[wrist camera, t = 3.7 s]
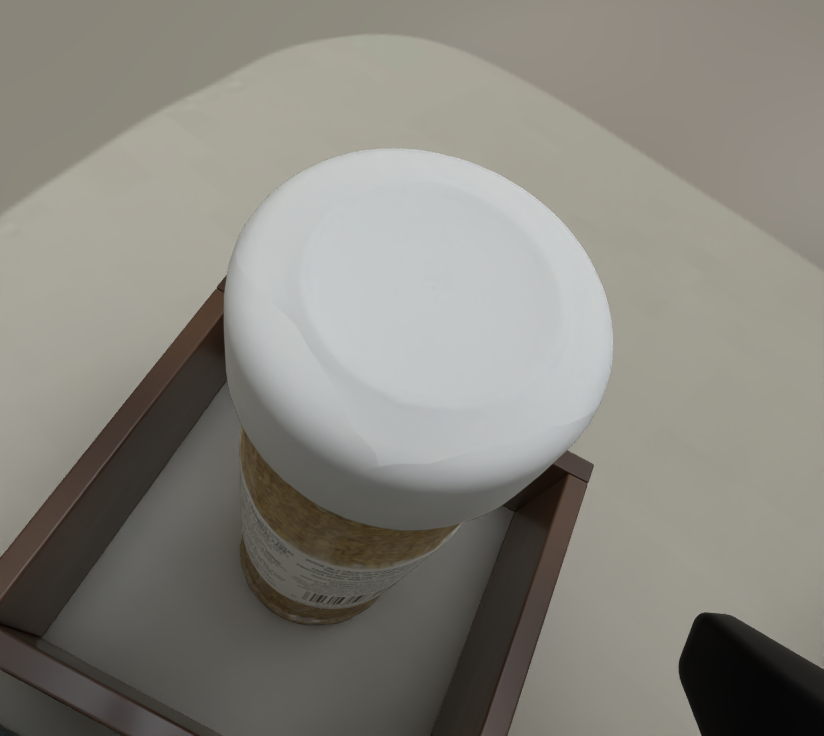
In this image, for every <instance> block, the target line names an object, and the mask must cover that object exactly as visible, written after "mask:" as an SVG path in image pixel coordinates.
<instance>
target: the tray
mask: <svg viewBox="0 0 824 736" xmlns="http://www.w3.org/2000/svg"><path fill="white" fill-rule="evenodd" d="M0 736H19V735H17V734H16V733H14V732H12V731H10V730H8V729H6V728H5V727H3V726H1V725H0Z"/></svg>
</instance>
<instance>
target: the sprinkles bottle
mask: <svg viewBox="0 0 824 736" xmlns="http://www.w3.org/2000/svg"><path fill="white" fill-rule="evenodd" d="M224 344H225V361H226V374H227V382H228V388H229V391H230V395H231V398H232V401H233V404H234V407H235V409H236V412H237V414H238V417H239V419H240V422H241V432H240V444H239V452H240V479H241V528H242V539H241V544H240V557H241V564H242V568H243V570H244V573H245V576H246V579H247V582H248V584H249V586H250V588H251V589H252V590H253V591H254V592H255V593H256V595H257V596H258V598H259V599H260V600H261V601H262V602H263V603H264V604H265V605H266V606H267V607H268V608H269V609H271V610H272V611H273V612H275V613H276V614H278V615H280V616H282V617H284V618H286V619H288V620H290V621H293V622H297V623H300V624H315V625H324V624H333V623H339V622H342V621H345V620H348V619H350V618H351V617H353V616H355V615H357V614H359V613H361V612H362V611H364V610H365V609H367V608H368V607H369V606H370V605H371V604H372V603H373V602H374V601H375V600H376V599H377V598H378V597H379V595H381V594H382V593H384V592H385V591H386V590H388V589H389V588H390V587H392V586H393V585H394V584H395V583H397V582H398V581H399V580H400V579H401V578H403V577H404V576H405V575H406V574H408V573H409V572H410V571H411V570H413V569H414V568H415V567H416V566H418V565H419V564H420V563H421V562H423V561H424V560H425V559H427V558H428V557H429V556H430V555H431V554H433V553H434V552H435V551H436V550H437V549H438V548H440V547H441V546H442V545H443V544H444V543H446V542H447V541H448V540H449V539H450V538H451V537H452V536H453V535H454V534H455V533H456V531H457V530H458V529H459V528H460V526H461V525H462V524H463V523H464V522H467V521H470V520H473V519H475V518H478V517H480V516H483V515H485V514H487V513H489V512H491V511H493V510H495V509H497V508H498V507H500V506H502V505H503V504H505V503H506V502H507V501H509V500H510V499H511V498H513V497H514V496H515V495H517V494H518V493H519V492H520V491H521V490H523V489H524V488H525V487H526V486H528V485H529V484H530V483H531V482H532V481H534V480H535V479H536V478H537V477H539V476H540V475H541V474H542V473H543V472H544V471H545V470H546V469H547V468H549V467H550V466H551V465H552V464H553V463H554V462H555V461H556V460H557V459H558V458H559V457H560V456H561V455H563V454H564V453H565V452H566V451H567V450H568V449H569V448H570V447H571V446H572V445H573V444H574V443H575V442H576V441H577V439H578V438H579V437H580V436H581V434H582V433H583V432H584V430H585V429H586V428H587V427H588V425H589V424H590V422H591V420H592V418H593V417H594V415H595V413H596V411H597V409H598V407H599V405H600V403H601V400H602V398H603V395H604V393H605V390H606V387H607V384H608V380H609V375H610V371H611V366H612V358H613V330H612V321H611V315H610V310H609V306H608V302H607V298H606V295H605V291H604V289H603V286H602V284H601V281H600V279H599V276H598V274H597V272H596V270H595V268H594V266H593V264H592V262H591V260H590V259H589V257H588V255H587V254H586V252H585V250H584V248H583V247H582V246H581V244H580V243H579V242H578V240H577V239H576V238H575V236H574V235H573V234H572V233H571V231H570V230H569V229H568V228H567V227H566V225H565V224H564V223H563V222H562V221H561V220H560V219H559V218H558V217H557V216H556V215H555V214H554V213H553V212H552V211H551V210H549V209H548V208H547V207H546V206H545V205H544V204H542V203H541V202H540V201H539V200H538V199H537V198H535V197H534V196H532V195H531V194H530V193H528V192H527V191H525V190H524V189H522V188H521V187H520V186H518V185H516V184H515V183H513V182H511V181H509V180H508V179H506V178H504V177H503V176H501V175H499V174H497V173H495V172H492V171H490V170H488V169H486V168H483V167H481V166H479V165H477V164H474V163H471V162H468V161H465V160H462V159H459V158H456V157H452V156H448V155H443V154H439V153H435V152H431V151H423V150H415V149H388V148H384V149H371V150H363V151H356V152H352V153H348V154H344V155H340V156H336V157H333V158H330V159H327V160H324V161H322V162H319V163H317V164H315V165H313V166H311V167H309V168H307V169H305V170H303V171H301V172H299V173H297V174H296V175H294V176H293V177H291V178H290V179H289V180H287V181H286V182H284V183H283V184H281V185H280V186H279V187H278V188H277V189H276V190H274V191H273V192H272V193H271V194H270V195H269V196H267V198H266V199H265V200H264V201H263V202H262V203H261V205H260V206H259V207H258V208H257V209H256V210H255V212H254V213H253V214H252V216H251V217H250V219H249V220H248V221H247V223H246V224H245V226H244V227H243V229H242V231H241V232H240V234H239V236H238V239H237V242H236V245H235V247H234V250H233V253H232V256H231V259H230V263H229V266H228V271H227V277H226V284H225V291H224Z"/></svg>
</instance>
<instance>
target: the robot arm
mask: <svg viewBox="0 0 824 736" xmlns="http://www.w3.org/2000/svg"><path fill="white" fill-rule="evenodd" d="M679 676H680V680H681V683H682V686H683V688H684V691H685V693H686V696H687V699H688V701H689V704H690V707H691V709H692V712H693V714H694V717H695V720H696V722H697V725H698V727H699V730H700V733H701V735H702V736H824V670H823V669H822V668H820V667H818V666H817V665H815V664H813V663H812V662H810V661H808V660H806V659H805V658H803V657H801V656H800V655H798V654H796V653H795V652H793V651H791V650H789V649H788V648H786V647H784V646H783V645H781V644H779V643H778V642H776V641H774V640H772V639H771V638H769V637H767V636H766V635H764V634H762V633H761V632H759V631H757V630H755V629H754V628H752V627H750V626H749V625H747V624H745V623H744V622H742V621H740V620H738V619H737V618H735V617H733V616H731V615H727V614H718V613H707V612H705V613H701V614H699V615H698V616H697V617H696V618H695V620H694V622H693V625H692V627H691V630H690V633H689V635H688V638H687V641H686V643H685V646H684V649H683V651H682V654H681V657H680V660H679Z"/></svg>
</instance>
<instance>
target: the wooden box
mask: <svg viewBox="0 0 824 736" xmlns="http://www.w3.org/2000/svg"><path fill="white" fill-rule="evenodd" d="M226 277H227V275H226V276H225V278H224V279H223V280H222V281H221V283H220V284H219V285H218V286H217V289H216V290H215V291H214V292H213V293H212V294H211V296H210V297H209V298H208V299H207V301H206V302H205V303H204V304H203V306H202V307H201V308H200V309H199V311H198V312H197V313H196V314H195V316H194V317H193V318H192V319H191V321H190V322H189V323H188V324H187V326H186V327H185V328H184V329H183V331H182V332H181V333H180V334H179V336H178V337H177V338H176V339H175V341H174V342H173V343H172V344H171V346H170V347H169V348H168V349H167V351H166V352H165V353H164V354H163V355H162V357H161V358H160V359H159V360H158V362H157V363H156V364H155V365H154V367H153V368H152V369H151V370H150V372H149V373H148V374H147V375H146V377H145V378H144V379H143V380H142V382H141V383H140V384H139V385H138V387H137V388H136V389H135V390H134V392H133V393H132V394H131V395H130V397H129V398H128V399H127V400H126V402H125V403H124V404H123V405H122V407H121V408H120V409H119V410H118V412H117V413H116V414H115V415H114V417H113V418H112V419H111V420H110V422H109V423H108V424H107V425H106V427H105V428H104V429H103V430H102V432H101V433H100V434H99V435H98V437H97V438H96V439H95V440H94V442H93V443H92V444H91V445H90V447H89V448H88V449H87V450H86V452H85V453H84V454H83V455H82V457H81V458H80V459H79V460H78V462H77V463H76V464H75V465H74V467H73V468H72V469H71V470H70V472H69V473H68V474H67V475H66V477H65V478H64V479H63V480H62V482H61V483H60V484H59V485H58V487H57V488H56V489H55V490H54V492H53V493H52V494H51V495H50V497H49V498H48V499H47V500H46V501H45V503H44V504H43V505H42V506H41V508H40V509H39V510H38V511H37V513H36V514H35V515H34V516H33V518H32V519H31V520H30V521H29V523H28V524H27V525H26V526H25V528H24V529H23V530H22V531H21V533H20V534H19V535H18V536H17V538H16V539H15V540H14V541H13V543H12V544H11V545H10V546H9V548H8V549H7V550H6V551H5V553H4V554H3V555H2V556H1V558H0V670H2V671H4V672H5V673H7V674H9V675H11V676H13V677H15V678H17V679H18V680H20V681H22V682H24V683H26V684H28V685H30V686H31V687H33V688H35V689H37V690H39V691H41V692H43V693H44V694H46V695H48V696H50V697H52V698H54V699H56V700H57V701H59V702H61V703H63V704H65V705H67V706H69V707H70V708H72V709H74V710H76V711H78V712H80V713H82V714H83V715H85V716H87V717H89V718H91V719H93V720H95V721H96V722H98V723H100V724H102V725H104V726H106V727H108V728H109V729H111V730H113V731H115V732H117V733H119V734H120V735H122V736H222V735H220V734H218V733H216V732H215V731H213V730H211V729H209V728H207V727H205V726H203V725H201V724H200V723H198V722H196V721H194V720H192V719H190V718H188V717H187V716H185V715H183V714H181V713H179V712H177V711H175V710H174V709H172V708H170V707H168V706H166V705H164V704H162V703H161V702H159V701H157V700H155V699H153V698H151V697H149V696H148V695H146V694H144V693H142V692H140V691H138V690H136V689H135V688H133V687H131V686H129V685H127V684H125V683H123V682H122V681H120V680H118V679H116V678H114V677H112V676H110V675H109V674H107V673H105V672H103V671H101V670H99V669H97V668H96V667H94V666H92V665H90V664H88V663H86V662H84V661H82V660H81V659H79V658H77V657H75V656H73V655H71V654H69V653H68V652H66V651H64V650H62V649H60V648H58V647H56V646H55V645H53V644H51V643H49V642H47V641H45V640H43V639H42V638H40V637H42V636H43V635H44V633H45V632H46V631H47V629H48V628H49V626H50V625H51V624H52V622H53V621H54V619H55V618H56V617H57V615H58V614H59V613H60V611H61V610H62V608H63V607H64V606H65V604H66V603H67V601H68V600H69V599H70V597H71V596H72V594H73V593H74V592H75V590H76V589H77V587H78V586H79V585H80V583H81V582H82V580H83V579H84V578H85V576H86V575H87V573H88V572H89V571H90V569H91V568H92V567H93V565H94V564H95V562H96V561H97V560H98V558H99V557H100V555H101V554H102V553H103V551H104V550H105V548H106V547H107V546H108V544H109V543H110V541H111V540H112V539H113V537H114V536H115V534H116V533H117V532H118V530H119V529H120V527H121V526H122V525H123V523H124V522H125V521H126V519H127V518H128V516H129V515H130V514H131V512H132V511H133V509H134V508H135V507H136V505H137V504H138V502H139V501H140V500H141V498H142V497H143V495H144V494H145V493H146V491H147V490H148V488H149V487H150V486H151V484H152V483H153V481H154V480H155V479H156V477H157V476H158V475H159V473H160V472H161V470H162V469H163V468H164V466H165V465H166V463H167V462H168V461H169V459H170V458H171V456H172V455H173V454H174V452H175V451H176V449H177V448H178V447H179V445H180V444H181V442H182V441H183V440H184V438H185V437H186V435H187V434H188V433H189V431H190V430H191V429H192V427H193V426H194V424H195V423H196V422H197V420H198V419H199V417H200V416H201V415H202V413H203V412H204V410H205V409H206V408H207V406H208V405H209V403H210V402H211V401H212V399H213V398H214V396H215V395H216V394H217V392H218V391H219V389H220V388H221V387H222V385H223V384H224V382H225V381H226V380H227V374H226V361H225V344H224V291H225V284H226ZM593 467H594V465H593V464H592V463H590V462H588V461H586V460H584V459H583V458H581V457H579V456H577V455H575V454H573V453H571V452H569V451H566V452H565V453H564V454H563V455H561V456H560V457H559V458H558V459H557V460H556V461H555V462H554V463H553V464H552V465H551V466H550V467H549V468H547V469H546V470H545V471H544V472H543V473H542V474H541V475H540V476H539V477H537V478H536V479H535V480H534V481H532V482H531V483H530V484H529V485H528V486H526V487H525V488H524V489H523V490H521V491H520V492H519V493H518V494H517V495H515V496H514V497H513V498H511V499H510V500H509V501H507V502H506V503H505V504H503V505H504V506H506V507H508V508H510V509H512V510H514V511H516V512H515V513H514V516H513V518H512V521H511V524H510V526H509V529H508V532H507V534H506V537H505V540H504V542H503V545H502V548H501V550H500V553H499V556H498V558H497V561H496V564H495V566H494V569H493V572H492V574H491V577H490V579H489V582H488V585H487V587H486V590H485V593H484V595H483V598H482V601H481V603H480V606H479V609H478V611H477V614H476V617H475V619H474V622H473V625H472V627H471V630H470V633H469V635H468V638H467V641H466V643H465V646H464V649H463V651H462V654H461V657H460V659H459V662H458V665H457V667H456V670H455V672H454V675H453V678H452V680H451V683H450V686H449V688H448V691H447V694H446V696H445V699H444V702H443V704H442V707H441V710H440V712H439V715H438V718H437V720H436V723H435V726H434V728H433V731H432V734H431V736H507V735H508V732H509V729H510V726H511V723H512V720H513V716H514V713H515V710H516V707H517V704H518V701H519V698H520V694H521V691H522V688H523V685H524V682H525V679H526V676H527V673H528V669H529V666H530V663H531V660H532V657H533V654H534V651H535V648H536V644H537V641H538V638H539V635H540V632H541V629H542V626H543V623H544V619H545V616H546V613H547V610H548V607H549V604H550V601H551V597H552V594H553V591H554V588H555V585H556V582H557V579H558V576H559V572H560V569H561V566H562V563H563V560H564V557H565V554H566V551H567V547H568V544H569V541H570V538H571V535H572V532H573V529H574V525H575V522H576V519H577V516H578V513H579V510H580V507H581V504H582V500H583V497H584V494H585V491H586V488H587V483H588V482H589V479H590V476H591V473H592V470H593Z"/></svg>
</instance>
